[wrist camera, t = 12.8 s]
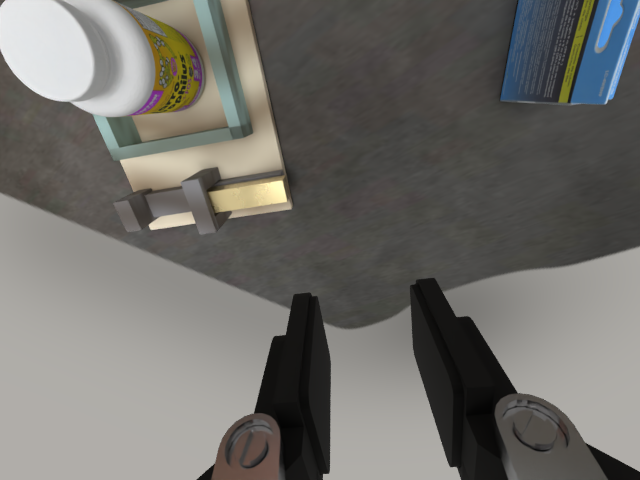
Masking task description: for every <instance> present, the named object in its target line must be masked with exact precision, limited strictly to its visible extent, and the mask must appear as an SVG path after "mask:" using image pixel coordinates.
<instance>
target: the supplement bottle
mask: <svg viewBox="0 0 640 480" xmlns="http://www.w3.org/2000/svg"><path fill="white" fill-rule="evenodd" d="M0 49H1V52H2V54H3V56H4V58H5V60H6V62H7V64H8V65H9V67H10V68H11V70H12V71H13V73H14V74H15V75H16V76H17V77H18V78H19V79H20V80H21V81H22V82H23V83H24V84H25V85H26V86H27V87H29V88H30V89H31V90H33V91H34V92H36V93H38V94H39V95H41V96H44V97H46V98H49V99H52V100H56V101H63V102H71V103H72V104H74V105H75V106H77V107H79V108H81V109H83V110H85V111H87V112H89V113H92V114H95V115H99V116H104V117H125V116H135V115H146V114H156V113H169V112H179V111H183V110H185V109H188V108H189V107H191V106H192V105H193V104H194V103H195V102H196V101H197V100H198V99H199V97H200V95H201V93H202V90H203V86H204V68H203V64H202V61H201V58H200V56H199V54H198V52H197V50H196V48H195V47H194V45H193V44H192V43H191V41H190V40H189V39H188V38H187V37H186V36H185V35H183V34H182V33H181V32H179V31H178V30H176V29H175V28H173V27H171V26H169V25H167V24H165V23H163V22H160V21H158V20H156V19H154V18H151V17H149V16H147V15H145V14H143V13H140V12H138V11H136V10H133V9H131V8H129V7H127V6H124V5H122V4H120V3H118V2H116V1H113V0H5V1H4V3H3V4H2V5H1V7H0Z"/></svg>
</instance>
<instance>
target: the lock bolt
mask: <svg viewBox="0 0 640 480" xmlns="http://www.w3.org/2000/svg"><path fill="white" fill-rule="evenodd" d="M206 191H207V194H208V197H209V200H210V203H211V206H212V209H213V212H214V213H218V212H224V211H231V210H237V209H244V208H250V207H257V206H264V205H270V204H277V203H283V202H287V201H288V199H289V197H290V193H289V188H288V184H287V179H286V175H283V176H277V177H270V178H264V179H258V180H252V181H246V182H240V183H233V184H227V185H221V186H215V187H210V188H208V189H207V190H206Z"/></svg>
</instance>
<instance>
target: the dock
mask: <svg viewBox="0 0 640 480" xmlns="http://www.w3.org/2000/svg"><path fill="white" fill-rule="evenodd" d="M113 1H116V2H118V3H120V4H122V5H124V6H127V7H129V8H131V9H133V10H136V11H138V12H140V13H143V14H145V15H147V16H149V17H151V18H154V19H156V20H158V21H160V22H163V23H165V24H167V25H169V26H171V27H173V28H175V29H176V30H178V31H179V32H181V33H182V34H183V35H185V36H186V37H187V38H188V39H189V40H190V41H191V43H192V44H193V45H194V47H195V48H196V50H197V52H198V54H199V56H200V58H201V61H202V64H203V68H204V86H203V90H202V93H201V95H200V97H199V99H198V100H197V101H196V102H195V103H194V104H193V105H192V106H191V107H189V108H188V109H185V110H183V111H179V112H169V113H156V114H146V115H135V116H125V117H104V116H99V115H95V114H93V116H94V119H95V121H96V123H97V125H98V127H99V130H100V132H101V134H102V136H103V138H104V141H105V143H106V145H107V147H108V149H109V151H110V154H111V156H112V158H113V160H114V161H118V160H120V162H121V164H122V166H123V168H124V171H125V173H126V175H127V177H128V180H129V182H130V184H131V186H132V189H133V191H134V193H132V194H130V195H128V196H126V197H124V198H121V199H119V200H117V201H115V202H113V204H114V206H115V208H116V210H117V212H118V214H119V216H120V218H121V220H122V223H123V225H124V227H125V229H126V231H127V232H130V231H137V230H142V229H143V228H145V227H146V226H148V225H149V227H150V229H151V230H154V229H161V228H168V227H174V226H181V225H188V224H195V223H196V225H197V228H198V231H199V233H200V234H207V233H214V232H217V231H218V230H219V228H220V227H221V226H222V225H223V224H224V222H225V221H226V220H227V219H228V218H235V217H241V216H248V215H255V214H261V213H268V212H275V211H281V210H288V209H292V207H293V203H292V198H291V194H290V197H289V199H288V201H287V202H283V203H277V204H270V205H264V206H257V207H250V208H244V209H237V210H231V211H224V212H218V213H214V212H213V209H212V206H211V203H210V200H209V197H208V194H207V191H206V190H207V189H208V188H210V187H215V186H221V185H227V184H233V183H240V182H246V181H252V180H258V179H264V178H270V177H277V176H283V175H286V171H285V166H284V162H283V157H282V153H281V148H280V144H279V139H278V135H277V130H276V125H275V121H274V116H273V112H272V107H271V103H270V98H269V93H268V89H267V84H266V80H265V75H264V71H263V66H262V61H261V57H260V52H259V48H258V43H257V39H256V34H255V29H254V25H253V20H252V16H251V11H250V7H249V2H248V0H113ZM286 179H287V176H286ZM287 184H288V180H287ZM288 188H289V185H288ZM289 193H290V189H289Z"/></svg>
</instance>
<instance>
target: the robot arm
mask: <svg viewBox="0 0 640 480" xmlns="http://www.w3.org/2000/svg"><path fill="white" fill-rule="evenodd" d="M410 297H411V317H412V334H413V335H412V337H413V350H414V355H415V358H416V362H417V365H418V368H419V371H420V374H421V378H422V381H423V384H424V387H425V391H426V394H427V397H428V400H429V403H430V407H431V410H432V413H433V416H434V419H435V423H436V426H437V429H438V432H439V435H440V439H441V442H442V445H443V448H444V451H445V455H446V458H447V461H448V463H449V466H450V467H457V468H458V471H459V474H460V477H461V480H640V472H639V471H637V470H635V469H633V468H632V467H630V466H628V465H626V464H624V463H622V462H620V461H619V460H617V459H615V458H613V457H611V456H609V455H607V454H605V453H603V452H602V451H600V450H598V449H596V448H594V447H592V446H590V445H588V444H587V443H585V442H584V440H583V438H582V437H581V435H580V434H579V432H578V431H577V429H576V428H575V425H574V424H573V423H572V422H571V421H570V419H569V418H568V417H567V416H566V415H565V414H564V413H563V412H562V411H561V410H560V409H558V408H557V407H556V406H554V405H553V404H551V403H549V402H547V401H546V400H544V399H541V398H539V397H536V396H533V395H529V394H521V393H517V391H516V390H515V388H514V386H513V385H512V383H511V382H510V380H509V378H508V377H507V375H506V374H505V372H504V370H503V369H502V367H501V366H500V364H499V362H498V361H497V359H496V357H495V356H494V354H493V353H492V351H491V349H490V348H489V346H488V345H487V343H486V341H485V340H484V338H483V336H482V335H481V333H480V331H479V330H478V328H477V327H476V325H475V323H474V322H473V320H472V319H471V318H470V317H467V316H466V317H456V316H455V314H454V312H453V310H452V308H451V307H450V305H449V303H448V301H447V300H446V298H445V296H444V294H443V292H442V290H441V289H440V287H439V285H438V283H437V281H436V280H435V278H428V279H419V280H416V284H415V285H410ZM330 375H331V361H330V354H329V349H328V344H327V339H326V335H325V330H324V325H323V320H322V316H321V311H320V306H319V301H318V297H317V296H313V297H312V295H311V293H301V294H294V296H293V301H292V306H291V311H290V316H289V321H288V326H287V332H286V335H282V336H275V337H274V338H273V340H272V343H271V347H270V351H269V355H268V359H267V363H266V367H265V371H264V375H263V379H262V383H261V388H260V392H259V395H258V400H257V404H256V408H255V412H254V414H250V415H247V416H244V417H243V418H241V419H240V420H238V421H236V422H235V423H234V424H233V425H232V426H231V427H230V428H229V429H228V430H227V432H226V433H225V435H224V437H223V438H222V441H221V443H220V446H219V449H218V453H217V457H216V462H215V464H214V465H213V466H211V467H210V468H209V469H208V470H207V471H206V472H205V473H204V474H202V476H200V477H199V478H198V479H197V480H323V474H329V471H330V387H331V376H330Z"/></svg>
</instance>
